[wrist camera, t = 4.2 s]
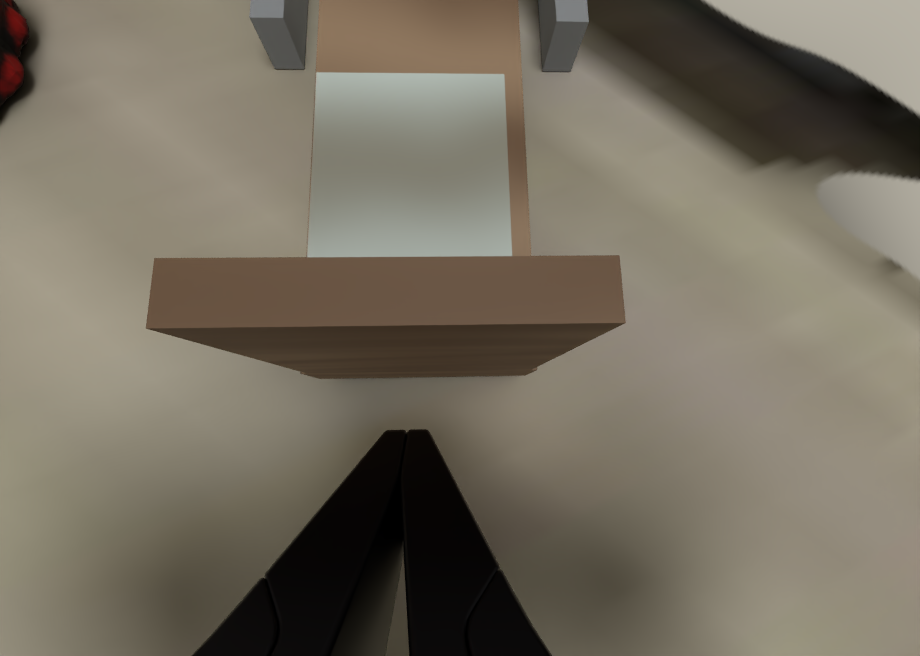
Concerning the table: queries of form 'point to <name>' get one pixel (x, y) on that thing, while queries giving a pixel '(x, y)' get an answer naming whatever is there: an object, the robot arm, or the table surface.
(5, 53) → the red clay folk toy
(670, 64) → the table surface
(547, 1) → the bay
